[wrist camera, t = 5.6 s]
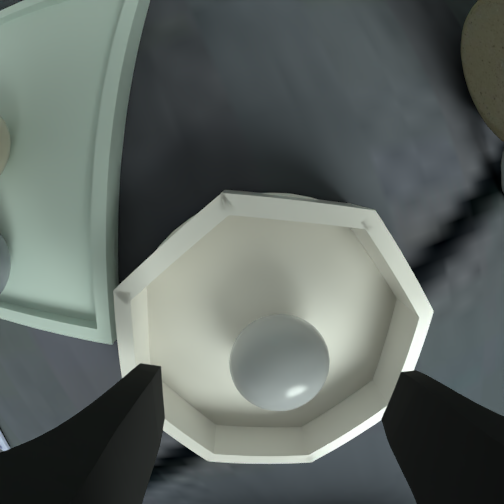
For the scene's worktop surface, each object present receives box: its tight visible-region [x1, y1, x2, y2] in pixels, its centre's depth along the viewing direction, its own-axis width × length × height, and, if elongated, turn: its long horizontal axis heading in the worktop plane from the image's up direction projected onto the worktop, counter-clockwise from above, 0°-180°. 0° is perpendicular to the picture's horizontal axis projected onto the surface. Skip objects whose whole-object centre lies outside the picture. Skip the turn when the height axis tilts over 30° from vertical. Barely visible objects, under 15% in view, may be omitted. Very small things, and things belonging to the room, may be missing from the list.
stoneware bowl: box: [113, 190, 434, 464], centre depth 11 cm, size 11×11×2 cm
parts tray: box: [0, 0, 150, 345], centre depth 9 cm, size 12×15×1 cm
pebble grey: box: [229, 314, 330, 411], centre depth 10 cm, size 3×3×3 cm
